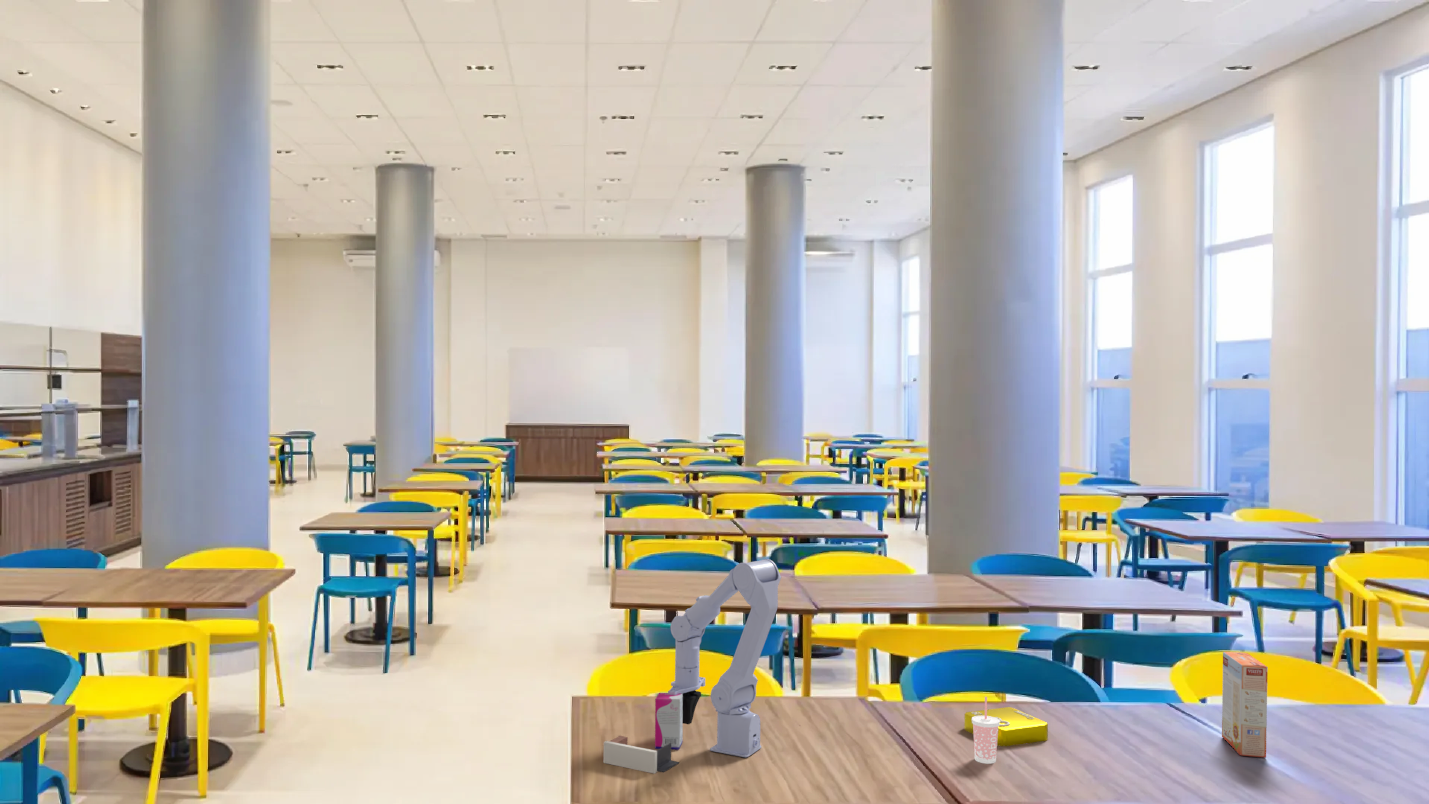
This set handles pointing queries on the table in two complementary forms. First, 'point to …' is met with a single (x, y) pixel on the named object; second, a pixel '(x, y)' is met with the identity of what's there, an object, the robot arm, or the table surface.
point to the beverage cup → (985, 737)
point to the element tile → (1012, 726)
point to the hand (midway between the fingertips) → (686, 723)
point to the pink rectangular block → (620, 740)
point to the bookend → (665, 759)
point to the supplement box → (668, 720)
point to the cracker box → (1244, 704)
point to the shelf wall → (630, 757)
